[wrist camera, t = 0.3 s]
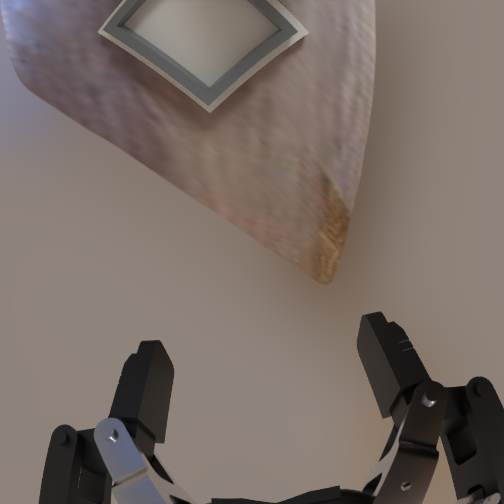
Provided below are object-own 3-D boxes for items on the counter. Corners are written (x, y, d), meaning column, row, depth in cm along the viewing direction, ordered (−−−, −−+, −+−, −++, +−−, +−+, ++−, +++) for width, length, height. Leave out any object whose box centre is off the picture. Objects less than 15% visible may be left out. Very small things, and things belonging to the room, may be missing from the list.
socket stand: (102, 31, 21) (88, 34, 18) (193, -60, 13) (189, -69, 10) (210, 109, 32) (208, 120, 29) (305, 32, 24) (315, 34, 21)
